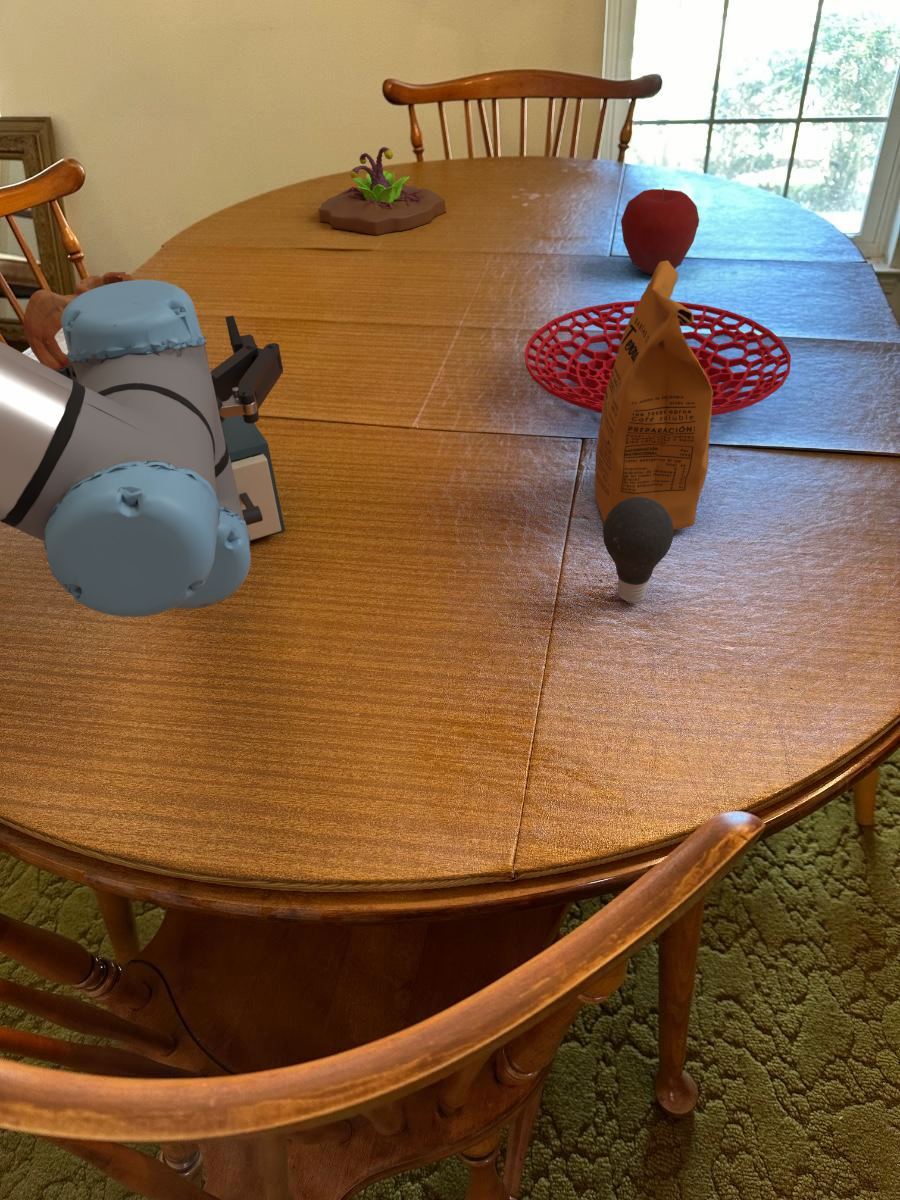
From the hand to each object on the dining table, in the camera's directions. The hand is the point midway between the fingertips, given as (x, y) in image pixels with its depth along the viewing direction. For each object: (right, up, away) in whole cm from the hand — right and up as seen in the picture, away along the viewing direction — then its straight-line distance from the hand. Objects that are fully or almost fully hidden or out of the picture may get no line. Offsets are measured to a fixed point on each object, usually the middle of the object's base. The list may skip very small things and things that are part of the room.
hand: (157, 342), depth 85 cm
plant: (+15, +44, +78) cm, 91 cm away
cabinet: (+2, -15, +8) cm, 17 cm away
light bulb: (+42, -24, -5) cm, 49 cm away
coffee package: (+46, -14, +6) cm, 48 cm away
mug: (-14, 0, +28) cm, 31 cm away
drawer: (+3, -16, +5) cm, 17 cm away
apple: (+57, +25, +52) cm, 81 cm away
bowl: (+50, 0, +23) cm, 55 cm away
